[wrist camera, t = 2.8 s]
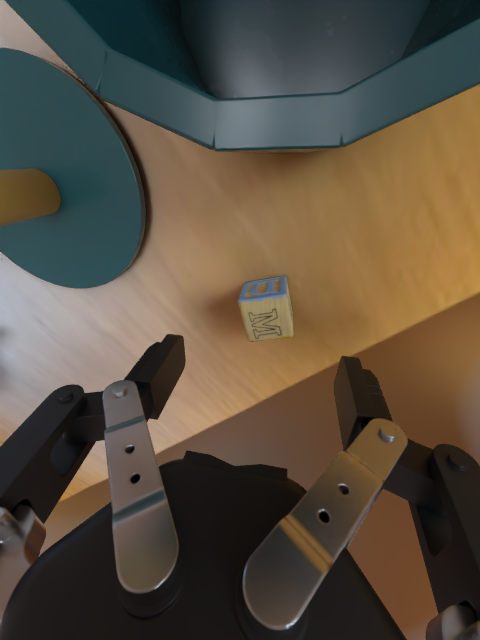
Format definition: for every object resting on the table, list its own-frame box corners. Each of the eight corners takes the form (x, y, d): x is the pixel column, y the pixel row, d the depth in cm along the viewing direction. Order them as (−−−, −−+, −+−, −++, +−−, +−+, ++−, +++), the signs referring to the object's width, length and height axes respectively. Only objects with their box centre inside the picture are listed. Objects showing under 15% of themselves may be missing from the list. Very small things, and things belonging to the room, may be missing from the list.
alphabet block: (287, 274, 18) (286, 294, 16) (294, 314, 20) (293, 338, 17) (243, 281, 19) (235, 301, 17) (253, 319, 21) (247, 343, 18)
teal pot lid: (-66, 7, 14) (-275, -78, 9) (170, 117, 15) (102, 97, 10) (-25, 240, 21) (-129, 268, 16) (134, 307, 22) (83, 355, 17)
